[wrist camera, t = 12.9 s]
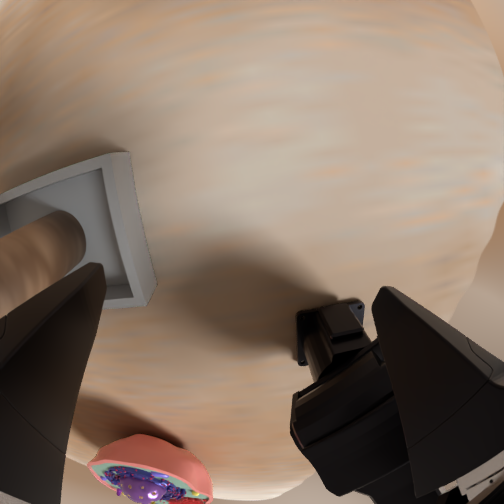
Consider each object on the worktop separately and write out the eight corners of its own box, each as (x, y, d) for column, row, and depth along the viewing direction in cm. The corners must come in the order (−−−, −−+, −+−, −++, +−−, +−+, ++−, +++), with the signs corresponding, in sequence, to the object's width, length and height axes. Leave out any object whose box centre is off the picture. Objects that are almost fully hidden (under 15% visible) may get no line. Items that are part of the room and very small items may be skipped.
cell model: (127, 464, 35) (117, 513, 24) (85, 401, 28) (59, 466, 17) (218, 474, 36) (218, 527, 25) (207, 417, 29) (203, 497, 18)
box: (157, 284, 22) (146, 306, 19) (35, 296, 22) (17, 313, 19) (129, 151, 18) (110, 152, 15) (5, 195, 18) (-18, 203, 15)
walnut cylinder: (93, 263, 20) (17, 343, 10) (51, 269, 20) (-22, 338, 10) (77, 204, 18) (-20, 255, 8) (36, 216, 18) (-53, 266, 8)
